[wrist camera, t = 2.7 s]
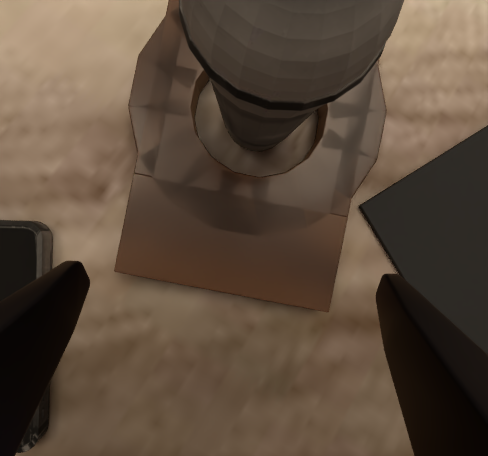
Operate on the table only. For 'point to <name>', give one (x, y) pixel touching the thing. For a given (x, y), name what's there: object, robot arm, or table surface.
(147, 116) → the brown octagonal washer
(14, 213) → the table surface
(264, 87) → the beverage cup
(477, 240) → the mat
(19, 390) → the robot arm
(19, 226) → the phone
